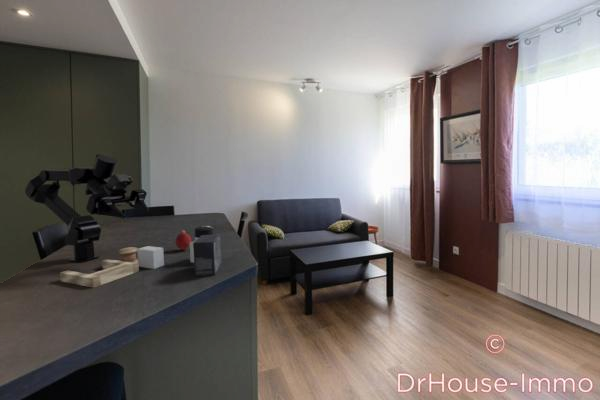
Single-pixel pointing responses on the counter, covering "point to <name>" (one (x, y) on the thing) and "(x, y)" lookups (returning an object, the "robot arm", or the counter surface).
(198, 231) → the medicine bottle
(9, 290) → the counter surface
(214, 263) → the small box
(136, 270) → the notched board
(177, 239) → the onion
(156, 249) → the tall pale grey block
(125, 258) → the wooden spool
